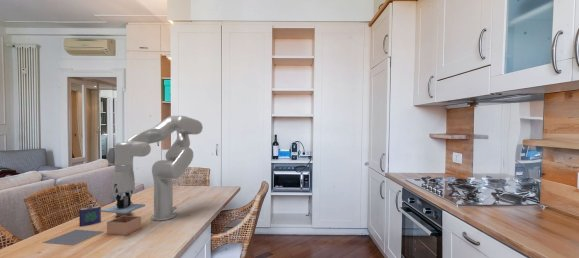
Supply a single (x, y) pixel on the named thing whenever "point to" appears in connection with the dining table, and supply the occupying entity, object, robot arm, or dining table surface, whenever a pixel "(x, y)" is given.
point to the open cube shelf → (124, 225)
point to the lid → (126, 207)
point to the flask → (89, 215)
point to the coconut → (123, 213)
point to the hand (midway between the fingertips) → (123, 206)
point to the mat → (73, 237)
